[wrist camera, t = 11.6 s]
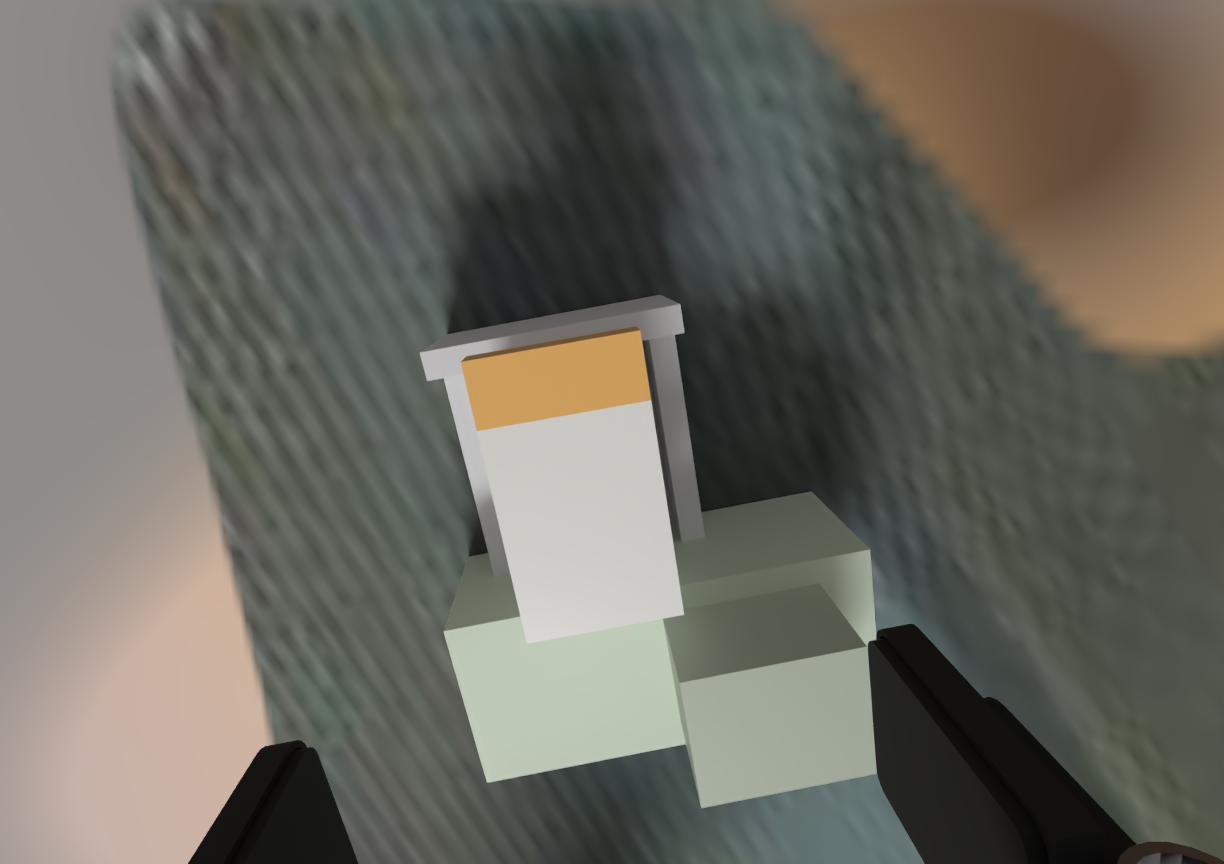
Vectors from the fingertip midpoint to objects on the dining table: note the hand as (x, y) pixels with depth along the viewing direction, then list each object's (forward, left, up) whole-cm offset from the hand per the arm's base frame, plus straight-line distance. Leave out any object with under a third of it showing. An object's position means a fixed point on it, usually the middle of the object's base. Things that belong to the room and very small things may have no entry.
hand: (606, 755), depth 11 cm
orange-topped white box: (0, 0, -18) cm, 18 cm away
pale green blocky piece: (-2, +4, -18) cm, 19 cm away
